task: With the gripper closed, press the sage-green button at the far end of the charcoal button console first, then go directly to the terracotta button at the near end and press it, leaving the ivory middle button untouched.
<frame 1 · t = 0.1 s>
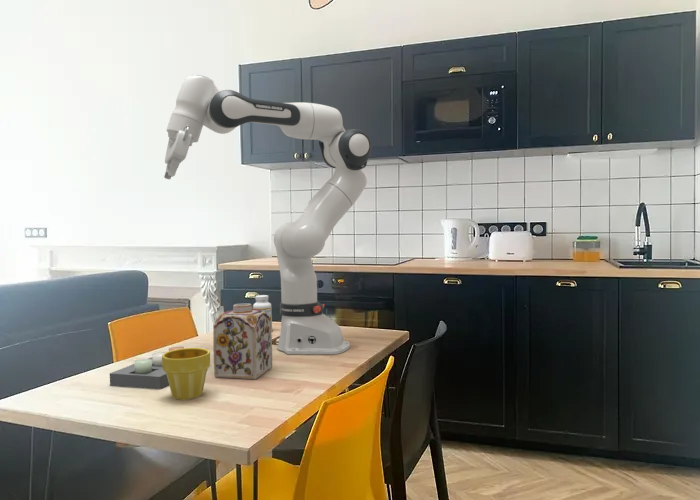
hand: (168, 177, 151), 52 cm above the table, tool tilted 20°, fingers open, 8 cm apart
button console: (161, 375, 140), on the table
ivory button: (160, 360, 140), point 4 cm above the table, slide at 0.0 cm
sage button: (143, 367, 133), point 4 cm above the table, slide at 0.0 cm
decorative jar: (244, 373, 141), on the table
terracotta button: (176, 353, 146), point 4 cm above the table, slide at 0.0 cm
plant pot: (187, 396, 123), on the table
supplement bottle: (262, 331, 196), on the table
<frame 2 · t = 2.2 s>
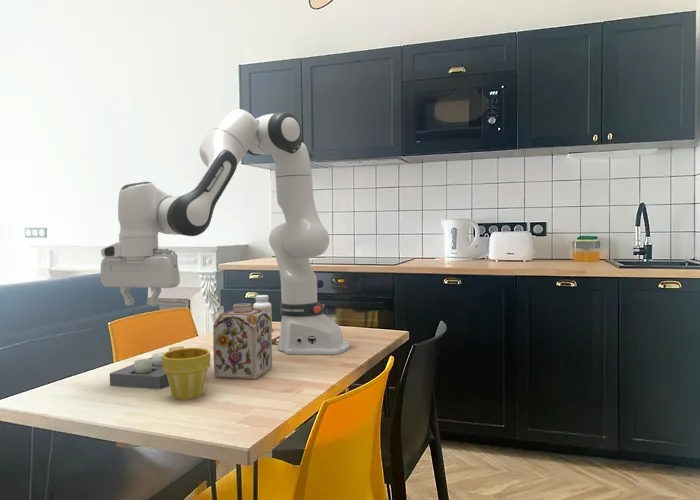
hand: (141, 305, 132), 19 cm above the table, tool pointing down, fingers open, 5 cm apart
nothing on the table moved.
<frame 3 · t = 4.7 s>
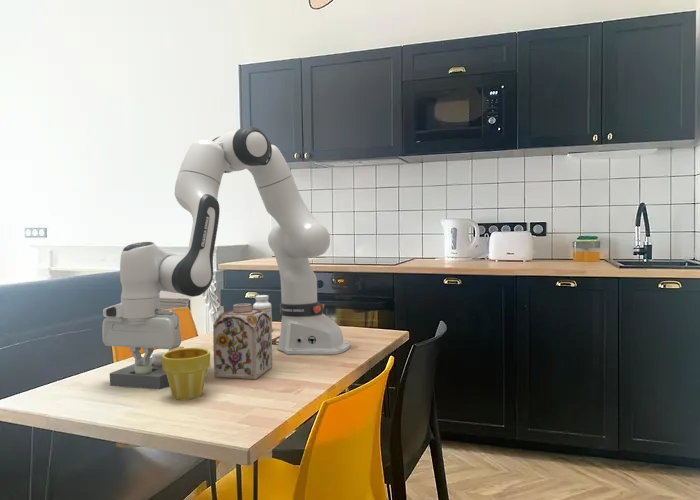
hand: (142, 365, 133), 4 cm above the table, tool pointing down, fingers closed, pressing on sage button
sage button: (143, 371, 133), point 3 cm above the table, slide at 1.1 cm, touching gripper
everything else where it was.
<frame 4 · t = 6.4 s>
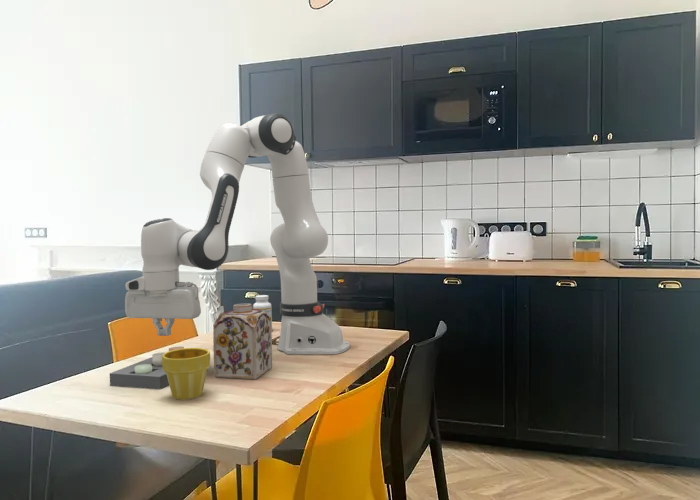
hand: (164, 335, 140), 10 cm above the table, tool pointing down, fingers closed
sage button: (143, 372, 133), point 3 cm above the table, slide at 1.3 cm
everything else where it was.
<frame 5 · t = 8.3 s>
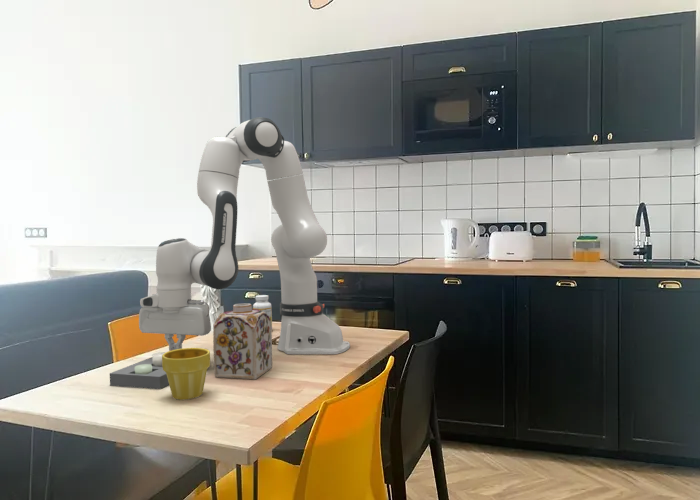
hand: (175, 350, 146), 5 cm above the table, tool pointing down, fingers closed, pressing on terracotta button
terracotta button: (176, 355, 146), point 3 cm above the table, slide at 0.6 cm, touching gripper
everything else where it was.
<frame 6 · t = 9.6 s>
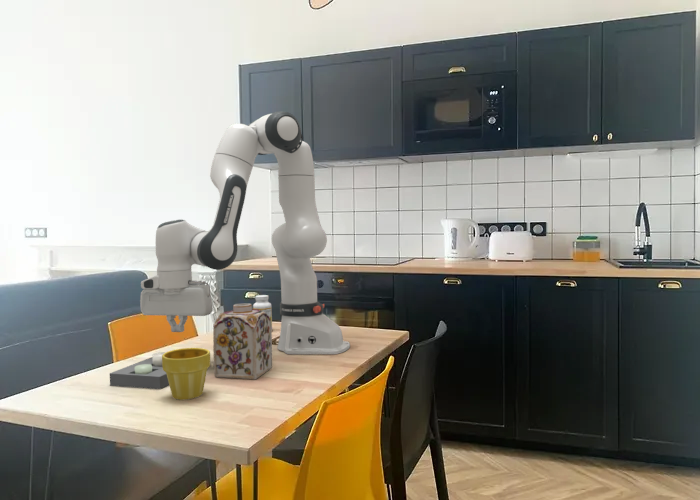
hand: (177, 331, 146), 10 cm above the table, tool pointing down, fingers closed
terracotta button: (176, 358, 146), point 3 cm above the table, slide at 1.3 cm
everything else where it was.
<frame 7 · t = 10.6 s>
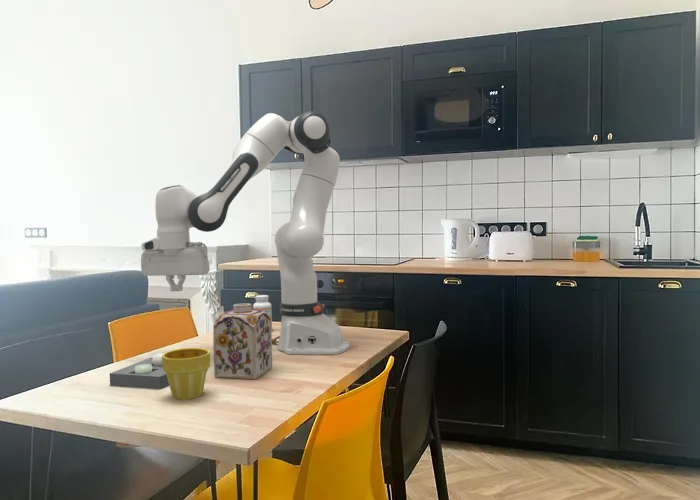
hand: (176, 291, 156), 20 cm above the table, tool pointing down, fingers closed
nothing on the table moved.
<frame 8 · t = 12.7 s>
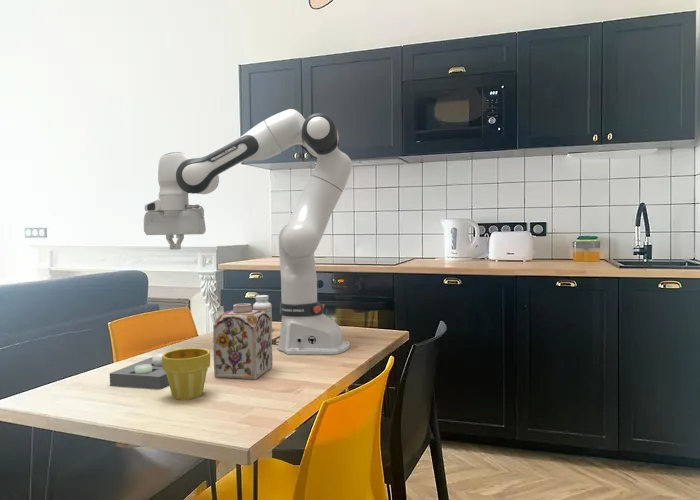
hand: (175, 249, 170), 31 cm above the table, tool pointing down, fingers closed
nothing on the table moved.
at the end: sage button slide at 1.3 cm; terracotta button slide at 1.3 cm; ivory button slide at 0.0 cm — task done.
